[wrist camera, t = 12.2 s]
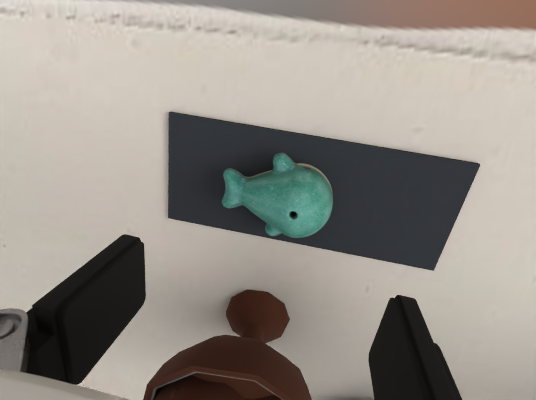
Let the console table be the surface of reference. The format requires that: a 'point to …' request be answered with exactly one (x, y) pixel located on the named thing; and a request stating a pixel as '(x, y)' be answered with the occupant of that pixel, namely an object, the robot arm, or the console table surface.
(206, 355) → the ice cream bowl
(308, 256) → the console table surface
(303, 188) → the whale figurine
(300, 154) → the plate
